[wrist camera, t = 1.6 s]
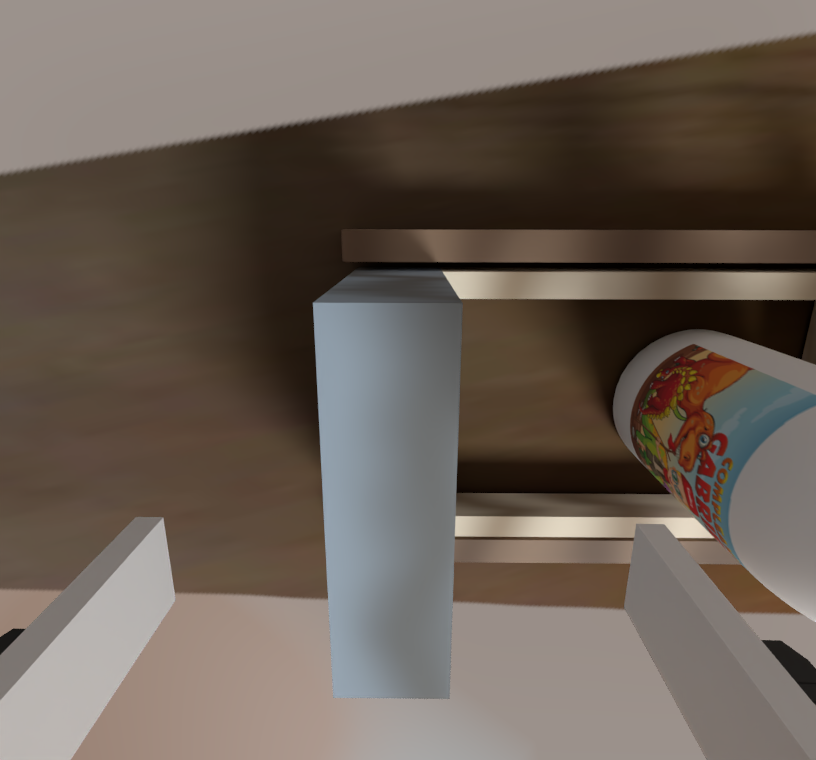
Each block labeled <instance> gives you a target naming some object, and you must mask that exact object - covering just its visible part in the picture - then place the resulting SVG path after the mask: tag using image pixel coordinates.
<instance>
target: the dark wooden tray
mask: <svg viewBox="0 0 816 760" xmlns="http://www.w3.org/2000/svg"><path fill="white" fill-rule="evenodd" d="M341 234H342V262H566V263H816V230H528V229H341ZM676 539H677V540H678V541H679V542H680V543H681V545H682V546H683V547H684V548H685V549H686V551H687V552H688V553H689V554H690V555H691V557H692V558H693V559H694V560H695V561H696V563H697V564H741V563H739V562H738V561H737V560H736V559H735V558H734V557H733V556H732V555H731V554H730V553H729V552H728V551H727V550H726V549H725V548H724V547H723V546H722V545H721V544H720V543H719V542H718V541H717V540H716V539H715V538H676ZM633 543H634V538H616V537H475V536H455V547H454V562H508V563H631V556H632V550H633Z"/></svg>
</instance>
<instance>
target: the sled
mask: <svg viewBox="0 0 816 760" xmlns="http://www.w3.org/2000/svg"><path fill="white" fill-rule="evenodd" d="M460 299H667V300H815V304H814V308H813V313H812V317H811V321H810V325H809V330H808V334H807V338H806V343H805V347H804V351H803V356H802V360H803V361H806V362H809V363H812V364H815V365H816V269H779V268H431V267H358V268H357V269H356V270H354V271H353V272H352V273H351V274H349V275H348V276H347V277H345V278H344V279H343V280H342V281H340V282H339V283H338V284H336V285H335V286H334V287H332V288H331V289H330V290H329V291H327V292H326V293H325V294H323V295H322V296H321V297H320V298H318V299H317V300H316V301H314V302H313V314H314V334H315V353H316V372H317V392H318V411H319V430H320V449H321V469H322V488H323V507H324V527H325V546H326V565H327V585H328V603H329V623H330V643H331V659H332V660H331V661H332V681H333V697H334V698H419V699H421V698H422V699H423V698H424V699H449V697H450V668H451V665H450V664H451V638H452V608H453V578H454V547H455V536H475V537H616V538H634V536H635V529H636V524H665V525H666V527H667V528H668V529H669V530H670V531H671V533H672V534H673V535H674V536H675V537H676V538H714V537H713V536H712V535H711V534H710V533H709V532H708V531H707V530H706V529H705V528H704V527H703V526H702V525H701V524H700V523H699V522H698V521H697V520H696V519H695V518H694V517H693V516H692V515H691V514H690V513H689V512H688V511H687V510H686V509H685V508H684V507H683V506H682V505H681V503H680V502H679V501H678V500H677V499H676V498H675V497H674V496H673V495H672V494H544V493H456V487H457V457H458V426H459V396H460V366H461V335H462V305H463V303H462V302H461V300H460Z"/></svg>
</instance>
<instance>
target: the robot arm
mask: <svg viewBox="0 0 816 760" xmlns="http://www.w3.org/2000/svg"><path fill="white" fill-rule="evenodd" d="M174 601H175V593H174V586H173V580H172V573H171V566H170V560H169V553H168V546H167V540H166V533H165V527H164V520H163V517H136V518H135V519H134V520H133V521H132V522H131V523H130V524H129V525H128V526H127V527H126V528H125V529H124V530H123V531H122V532H121V533H120V534H119V535H118V536H117V537H116V538H115V539H114V540H113V541H112V542H111V543H110V544H109V545H108V546H107V547H106V548H105V549H104V550H103V551H102V552H101V553H100V554H99V555H98V556H97V557H96V558H95V559H94V560H93V561H92V562H91V563H90V564H89V565H88V566H87V567H86V568H85V569H84V570H83V571H82V572H81V573H80V575H79V576H78V577H77V578H76V579H75V580H74V581H73V582H72V583H71V584H70V585H69V586H68V587H67V588H66V589H65V590H64V591H63V592H62V593H61V594H60V595H59V596H58V597H57V598H56V599H55V600H54V601H53V602H52V603H51V604H50V605H49V606H48V607H47V608H46V609H45V610H44V611H43V612H42V613H41V614H40V615H39V616H38V617H37V618H36V619H35V620H34V621H33V622H32V623H31V624H30V625H29V626H28V627H27V628H26V629H12V630H11V631H9V632H8V633H6V634H4V635H3V636H1V637H0V760H71V758H72V757H73V755H74V754H75V752H76V751H77V749H78V748H79V746H80V745H81V743H82V742H83V740H84V738H85V737H86V736H87V734H88V732H89V731H90V729H91V728H92V726H93V725H94V723H95V722H96V720H97V719H98V717H99V716H100V714H101V713H102V711H103V710H104V708H105V707H106V705H107V704H108V702H109V701H110V699H111V697H112V696H113V694H114V693H115V691H116V690H117V688H118V687H119V685H120V684H121V682H122V681H123V679H124V677H125V676H126V675H127V673H128V672H129V670H130V669H131V667H132V665H133V664H134V662H135V661H136V659H137V658H138V656H139V655H140V653H141V652H142V650H143V649H144V647H145V646H146V644H147V643H148V641H149V640H150V638H151V637H152V635H153V633H154V632H155V631H156V629H157V627H158V626H159V624H160V623H161V621H162V620H163V618H164V617H165V615H166V614H167V612H168V611H169V609H170V608H171V606H172V605H173V603H174ZM624 608H625V610H626V612H627V614H628V615H629V617H630V619H631V621H632V623H633V625H634V627H635V628H636V630H637V632H638V634H639V636H640V638H641V639H642V641H643V643H644V645H645V647H646V649H647V651H648V652H649V654H650V656H651V658H652V660H653V662H654V663H655V665H656V667H657V669H658V671H659V672H660V674H661V676H662V678H663V680H664V682H665V684H666V686H667V687H668V689H669V691H670V693H671V695H672V696H673V698H674V700H675V702H676V704H677V706H678V708H679V709H680V711H681V713H682V715H683V717H684V719H685V721H686V722H687V724H688V726H689V728H690V730H691V732H692V733H693V735H694V737H695V739H696V741H697V743H698V744H699V746H700V748H701V750H702V752H703V754H704V755H705V757H706V759H707V760H816V669H815V667H814V666H813V665H812V664H811V663H810V662H809V661H808V660H807V659H806V658H804V657H803V656H801V655H800V654H799V653H797V652H796V651H795V650H793V649H792V648H790V647H789V646H787V645H786V644H785V643H783V642H782V641H771V640H761V639H760V638H759V637H758V636H757V635H756V633H755V632H754V631H753V630H752V629H751V627H750V626H749V625H748V624H747V623H746V621H745V620H744V619H743V618H742V617H741V615H740V614H739V613H738V612H737V611H736V609H735V608H734V607H733V606H732V605H731V603H730V602H729V601H728V600H727V599H726V597H725V596H724V595H723V594H722V593H721V591H720V590H719V589H718V588H717V587H716V585H715V584H714V583H713V582H712V581H711V579H710V578H709V577H708V576H707V575H706V573H705V572H704V571H703V570H702V569H701V567H700V566H699V565H698V564H697V563H696V561H695V560H694V559H693V558H692V557H691V555H690V554H689V553H688V552H687V551H686V549H685V548H684V547H683V546H682V545H681V543H680V542H679V541H678V540H677V539H676V537H675V536H674V535H673V534H672V533H671V531H670V530H669V529H668V528H667V527H666V525H665V524H636V529H635V536H634V543H633V550H632V556H631V563H630V570H629V577H628V584H627V591H626V598H625V604H624Z"/></svg>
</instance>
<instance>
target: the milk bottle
mask: <svg viewBox="0 0 816 760" xmlns="http://www.w3.org/2000/svg"><path fill="white" fill-rule="evenodd" d="M613 417H614V422H615V426H616V429H617V432H618V434H619V436H620V438H621V439H622V441H623V442H624V444H625V445H626V446H627V447H628V449H629V450H630V451H631V452H632V453H633V454H634V455H635V457H636V458H637V459H638V460H639V461H640V462H641V463H642V464H643V465H644V466H645V467H646V468H647V469H648V470H649V471H650V472H651V473H652V474H653V476H654V477H655V478H656V479H657V480H658V481H659V482H660V483H661V484H662V485H663V486H664V487H665V488H666V489H667V490H668V491H669V492H670V493H671V494H672V495H673V496H674V497H675V498H676V499H677V500H678V501H679V502H680V503H681V505H682V506H683V507H684V508H685V509H686V510H687V511H688V512H689V513H690V514H691V515H692V516H693V517H694V518H695V519H696V520H697V521H698V522H699V523H700V524H701V525H702V526H703V527H704V528H705V529H706V530H707V531H708V532H709V533H710V534H711V535H712V536H713V537H714V538H715V539H716V540H717V541H718V542H719V543H720V544H721V545H722V546H723V547H724V548H725V549H726V550H727V551H728V552H729V553H730V554H731V555H732V556H733V557H734V558H735V559H736V560H737V561H738V562H739V563H741V564H742V565H743V566H744V567H745V568H746V569H747V570H748V571H749V572H750V573H751V574H752V575H753V576H754V577H755V578H756V579H758V580H759V581H760V582H761V583H762V584H763V585H764V586H765V587H766V588H768V589H769V590H770V591H771V592H773V593H774V594H775V595H777V596H778V597H779V598H780V599H782V600H783V601H784V602H786V603H787V604H788V605H790V606H791V607H793V608H794V609H795V610H797V611H799V612H800V613H802V614H803V615H805V616H806V617H808V618H809V619H811V620H812V621H814V622H816V365H815V364H812V363H809V362H806V361H803V360H800V359H798V358H795V357H792V356H789V355H786V354H783V353H780V352H778V351H775V350H772V349H769V348H766V347H763V346H760V345H757V344H755V343H752V342H749V341H746V340H743V339H740V338H737V337H734V336H731V335H728V334H724V333H721V332H717V331H713V330H705V329H693V330H685V331H680V332H676V333H673V334H670V335H667V336H665V337H663V338H660V339H658V340H656V341H655V342H653V343H651V344H649V345H648V346H647V347H646V348H644V349H643V350H641V351H640V352H639V353H638V354H637V355H636V356H635V357H634V358H633V359H632V360H631V361H630V362H629V364H628V365H627V367H626V369H625V370H624V371H623V373H622V374H621V377H620V379H619V382H618V384H617V386H616V391H615V395H614V400H613Z"/></svg>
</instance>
